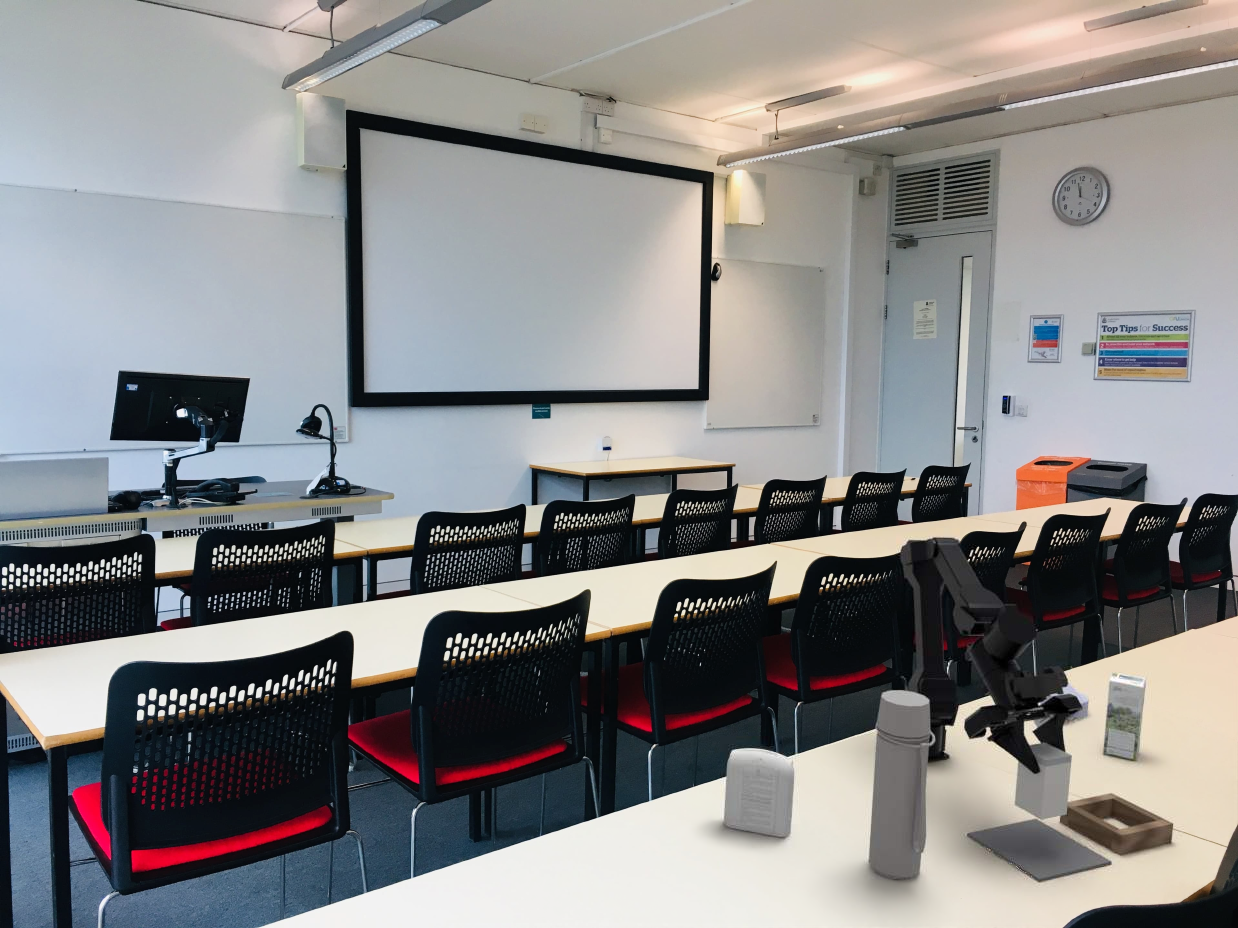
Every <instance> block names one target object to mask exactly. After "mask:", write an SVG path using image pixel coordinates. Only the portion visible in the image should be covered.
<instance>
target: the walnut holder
mask: <svg viewBox="0 0 1238 928" xmlns="http://www.w3.org/2000/svg"><path fill="white" fill-rule="evenodd" d="M1110 817H1111V818H1113V819H1116V820H1118V821H1119V822H1120V823H1123V824H1126V826H1127V825H1128V827H1124V828H1121V829H1120V828H1119V827H1117V826H1115V825H1113V824H1111V823H1109V822H1107V821H1105V820H1103V819H1105V818H1110ZM1059 823H1060V824H1061V823H1062V824H1063V825H1065V826H1067V827H1069V828H1070V829H1073V830H1074V831H1076V832H1078V833H1080V834H1081V835H1083V836H1084V837H1087V838H1089V839H1090V840H1092V841H1094V842H1096V843H1098V844H1100V845H1101V846H1103V847H1105V848H1107V849H1109V850H1110V851H1112V852H1114V853H1116V854H1118V855H1126V854H1129V853H1133V852H1137V851H1141V850H1145V849H1149V848H1153V847H1158V846H1161V845H1166V844H1170V843H1172V840H1173V829H1174V822H1171V821H1169V820H1167V819H1165V818H1163V817H1161V816H1160V815H1157V814H1155V813H1153V812H1151V811H1149V810H1146V809H1144V808H1143V807H1141V806H1139V805H1137V804H1135V803H1132V802H1131V801H1129V800H1127V799H1125V798H1123V797H1120V796H1118V795H1116V794H1114V793H1112V792H1110V793H1106V794H1105V793H1104V794H1101V795H1097V796H1096V795H1095V796H1090V797H1086V798H1082V799H1077V800H1071V801H1068V804H1067V814H1066V815H1061V816H1059Z"/></svg>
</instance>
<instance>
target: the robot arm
mask: <svg viewBox="0 0 1238 928" xmlns="http://www.w3.org/2000/svg"><path fill="white" fill-rule="evenodd" d="M899 557H900V562H901V564H902V566H903V567H902V568H903V569H902V570H903V575H904V576H905V578H906V579H907V581H908V583H909V584H910V585H911V587H912V588H913V589H912V590H913V602H914V603H913V604H914V606H913V607H914V609H913V610H914V629H915V631H914V632H915V649H916V650H915V651H916V653H915V654H916V655H915V656H916V669H915V671H914V672H913V675H912V676H911V678H910V679H909V681H908V688H907V689H908V690H907V691H910V692H915V693H918V694H921V695H924V696H925V697H926V698H928V699H929V703H930V731H931V732H932V733H933V734H934V735H935V742H934V743H933V745H932V746H929V750H928V763H929V762H935V761H940V760H947V759H949V758H950V754H948V753H946V752H945V751H946V739H947V729H946V727H947V726H948V727H954V726H955V722H956V719H957V716H958V710H959V708H960V701H959V698H958V695H957V683H956V680H955V679H954V678H951V677H950V675H949V673H948V672H947V671H946V669H945V657H944V656H945V654H944V653H945V652H944V633H943V631H944V630H943V629H944V628H943V614H942V613H943V611H942V610H943V608H942V591H941V590H942V589H941V588H942V587H943V585H944V583H945V585H946V587H947V589H948V591H949V593H950V594H951V597H952V598H953V600H954V603H955V606H954V609H953V612H952V617H953V620H954V624H955V626H956V628H957V629H958V631H959V633H960V634H961V635H962V636H971V637H972V636H974V637H975V636H977V637H978V636H980V637H979V638H977V639H976V640H974V641H973V642H969V643H967V647H966V648H967V649H966V651H965V652H964V659H965V661H967V662H968V661H972V662H973V663H974V666H975V667H976V669H977V670H976V671H978V673H979V675H980V677H981V679H982V681H983V683H984V686H983V687H982V688H981V692H982V693H983V694H982V695H983V696H986V695H987V696H988V695H990V697H991V698H992V700H993V703H994V704H991V705H984V706H983V705H982V706H980V707H979V708H978V709H976V710H975V711H974V712H973V713H972V714H970V715H969V716H967V717H966V718H965V719H964V725H963V726H964V728H963V729H964V731H965V734H966V735H967V737H968V739H969V740H972V739H982V738H984V737H985V736H986V734H987V730H988V729H987V728H989V731H990V733H991V734H990V735H989V736H987V737H986V739H987V741H988V742H989V743H990V742H993V743H994V744H995V745H997V746H999V747H1000V748H1001V749H1003V750H1004V751H1006V753H1008V754H1009V755H1011V756H1012V757H1013V758H1014V759H1015V760H1016V761H1017V762H1018V761H1019V762H1020V763H1022V764H1023V765H1024V766H1025V767H1026V768H1028V769H1029V770H1030V771H1031V772H1032V773H1034V774H1038V773H1039V772H1040V768H1039V765H1038V763H1037V760H1036V758H1035V756H1034V754H1033V752H1032V750H1031V748H1030V746H1029V745H1030V744H1029V742H1028V740H1027V737H1026V736H1025V722H1030V721H1033V722H1034V724H1035V726H1036V728H1035V729H1033V730H1032V731H1031V732H1032V733H1033V735H1034V736H1035V737H1036V739H1037V740H1038V741H1039V743H1047V744H1049V745H1051V746H1053V747H1055V748H1057V749H1059V750H1062V751H1064V752H1066V746H1065V738H1064V725H1065V721H1067V720H1068V719H1069V718H1070V717H1072V716H1073V715H1075V714H1076V713H1077V712H1079V711H1080V710H1082V709H1083V707H1082V705H1081V703H1080V702H1079V700H1078V698H1077V696H1074V695H1072V694H1064V692H1063V687H1067V685H1068V683H1069V679H1068V677H1067V674H1066V673H1065V672H1064V670H1063V669H1062V667H1061V665H1058V666H1051V667H1045V668H1044V669H1043V674H1039V675H1037V674H1036V675H1032V674H1031V671H1029V670H1028V669H1027V668H1025V669H1020V667H1019V664H1018V663H1017V661H1016V660H1015V659H1018V657H1020V656H1021V655H1022V653H1024V651H1025V650H1026V649H1027V648H1028V646H1029V645H1030V644H1031V643H1032V642H1033V641H1034V640H1035V639H1036V637H1037V632H1038V631H1037V626H1036V624H1035V622H1034V621H1033V620H1032V619H1031V617H1029V615H1027V614H1026V613H1024V612H1021V611H1020V610H1019V609H1018V606H1017V604H1012V603H1011V604H1010V603H1009V604H1004V603H1003V601H1002V600H1001V599H1000V598H999V597H998V595H997V594H996V593H994V592H992V591H990V590H989V589H987V588H985V587H983V586H982V583H980V580H979V579H978V577H977V576H976V574H975V571H973V569H972V567H971V565H970V563H969V561H968V559H967V558H966V557H965V555H964V553H963V551H962V545H961V542H960V540H959V539H958V538H957V539H956V538H955V537H948V536H947V537H944V536H942V537H940V536H939V537H938V536H932V537H931V538H928V539H908V540H907V542H906V543H905V545H902V546H901V548H900V553H899ZM1051 694H1058V695H1057V696H1053V697H1052V698H1050V699H1049V700H1047V701H1046V702H1045V703H1043V704H1042V705H1039V704H1040V702H1043V701H1044V700H1045V699H1047V698H1046V697H1047V696H1050V695H1051ZM1060 694H1064V695H1060ZM932 739H933V738H932V736H931V734H930V737H929V743H931V742H932ZM1066 753H1067V752H1066Z"/></svg>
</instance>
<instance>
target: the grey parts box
mask: <svg viewBox="0 0 1238 928" xmlns="http://www.w3.org/2000/svg"><path fill="white" fill-rule="evenodd" d="M1029 746H1030V748H1031V750H1032V752H1033V754H1034V756H1035V758H1036V760H1037V763H1038V765H1039V768H1040V772H1039V773H1038V774H1034V773H1032V772H1031V771H1030V770H1029V769H1028V768H1026V767H1025V766H1024V765H1023V764H1022V763H1020V762H1019V761H1018V760H1017V773H1016V783H1015V785H1016V786H1015V794H1014V806H1016V807H1018V808H1020V809H1021V810H1023V811H1025V812H1027V813H1029V815H1032V816H1034V817H1036V819H1038V820H1039V821H1042V820H1046V819H1050V818H1056V817H1060V816H1061V815H1066V814H1067V804H1068V802H1069V793H1070V792H1069V791H1070V780H1071V779H1070V778H1071V772H1072V771H1071V769H1072V760H1073V759H1072V757H1073V755H1072V754H1070V753H1069V752H1064V751H1062V750H1059V749H1057V748H1055V747H1053V746H1051V745H1049V744H1047V743H1041V742H1039V743H1033V744H1029Z"/></svg>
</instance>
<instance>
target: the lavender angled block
mask: <svg viewBox="0 0 1238 928" xmlns="http://www.w3.org/2000/svg"><path fill="white" fill-rule="evenodd" d="M1063 692H1064V694H1072V695H1074V696H1077V698H1078V700H1079V702H1080V703H1081V705H1082V707H1083V709H1082V710H1080V711H1079V712H1077V713H1076V714H1075V715H1073V716H1072V717H1070V718H1081V719H1085V718H1086V717H1088V712H1089V700H1090V699H1089V697H1088V696H1086V694H1084V693H1081V692H1078V691H1077V690H1076V689H1075V688H1074V687H1073V686H1072V684H1070V683H1069V682H1068V685H1067V687H1063ZM1064 694H1060V695H1064ZM1057 695H1058V694H1051V695H1050V696H1047V697H1046V698H1047V699H1045V700H1044V701H1043V702H1040V703H1039V704H1040V705H1042V704H1043V703H1045V702H1046V701H1047V700H1049V699H1050V698H1052V697H1053V696H1057ZM1040 705H1039V706H1040ZM1084 717H1085V718H1084Z"/></svg>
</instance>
